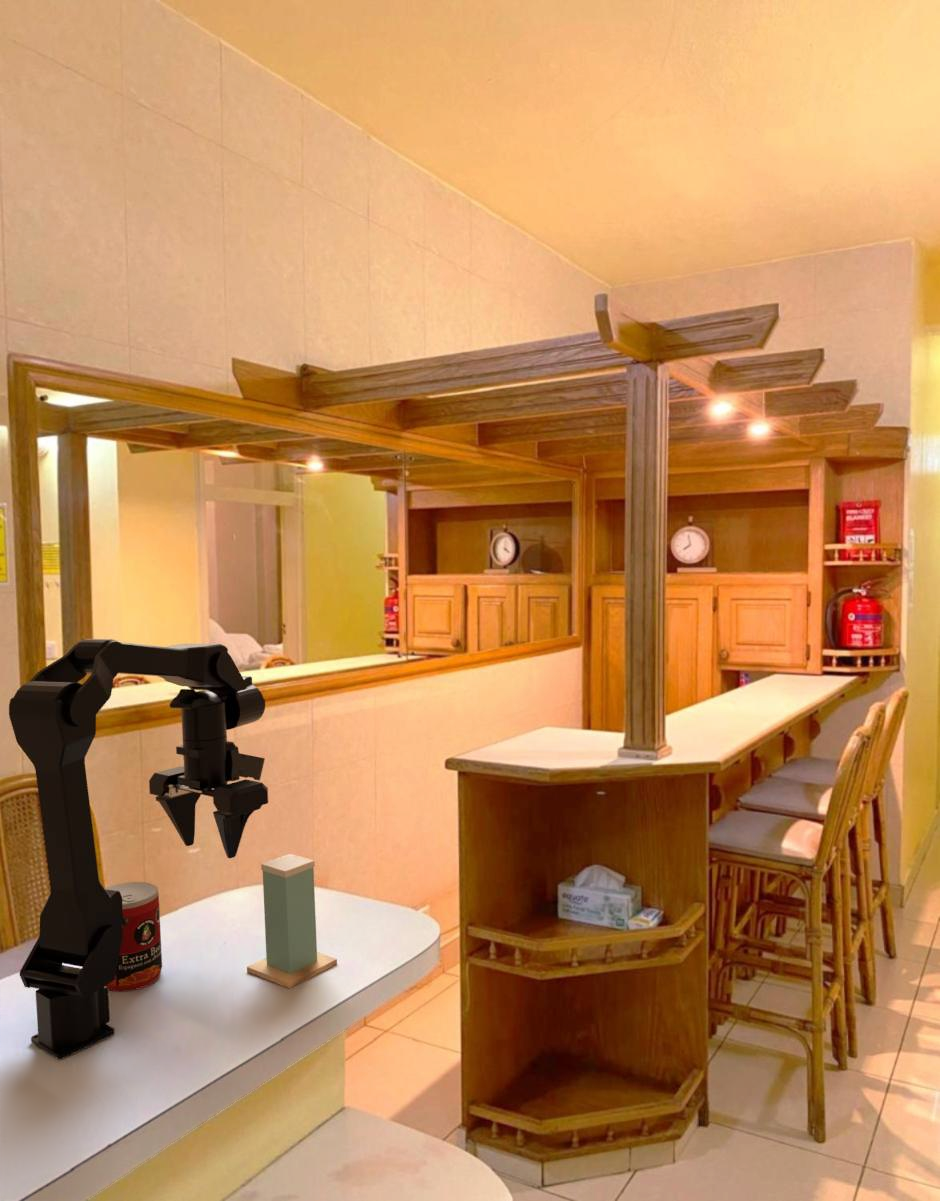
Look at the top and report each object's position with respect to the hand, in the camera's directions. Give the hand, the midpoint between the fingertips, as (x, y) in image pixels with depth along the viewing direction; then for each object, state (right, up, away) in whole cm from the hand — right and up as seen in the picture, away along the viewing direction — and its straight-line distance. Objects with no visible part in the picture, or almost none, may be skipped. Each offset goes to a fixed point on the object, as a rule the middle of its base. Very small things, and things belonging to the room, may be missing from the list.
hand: (210, 851), depth 124 cm
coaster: (+12, -13, -7) cm, 19 cm away
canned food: (-8, -14, -8) cm, 18 cm away
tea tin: (+12, -12, -7) cm, 19 cm away
